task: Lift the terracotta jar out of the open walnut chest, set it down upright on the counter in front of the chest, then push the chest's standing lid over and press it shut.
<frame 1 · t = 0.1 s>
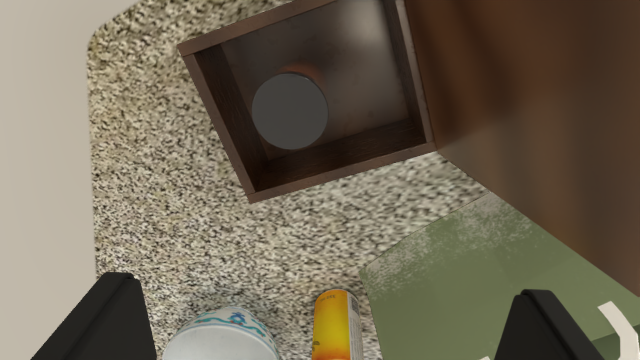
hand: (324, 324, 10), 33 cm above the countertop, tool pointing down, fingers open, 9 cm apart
chest lid: (491, 81, 20), point 19 cm above the countertop, hinge at 100.0°
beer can: (336, 301, 52), on the countertop
grocery bag: (490, 238, 47), on the countertop
chinaware: (235, 322, 54), on the countertop
jar: (299, 87, 39), point 1 cm above the countertop, touching chest
chest: (318, 79, 39), on the countertop
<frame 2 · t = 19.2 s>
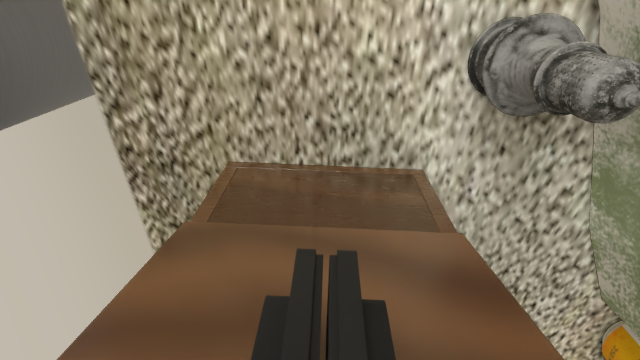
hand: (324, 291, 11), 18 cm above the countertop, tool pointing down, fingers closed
grey chess piece: (506, 59, 25), on the countertop
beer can: (628, 334, 36), on the countertop
chest: (321, 260, 33), on the countertop
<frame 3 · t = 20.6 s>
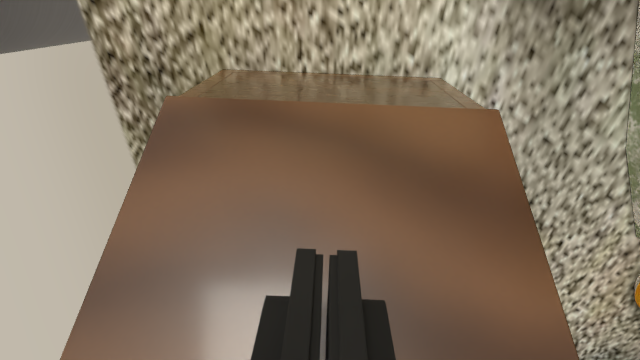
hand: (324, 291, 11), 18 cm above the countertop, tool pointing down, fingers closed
chest lid: (323, 320, 12), point 18 cm above the countertop, hinge at 60.0°
chest: (326, 190, 30), on the countertop
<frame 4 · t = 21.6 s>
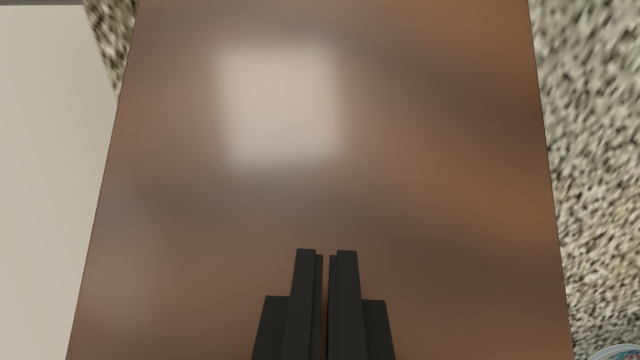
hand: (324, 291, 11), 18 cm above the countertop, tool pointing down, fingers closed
chest lid: (324, 234, 12), point 16 cm above the countertop, hinge at 40.8°, touching gripper
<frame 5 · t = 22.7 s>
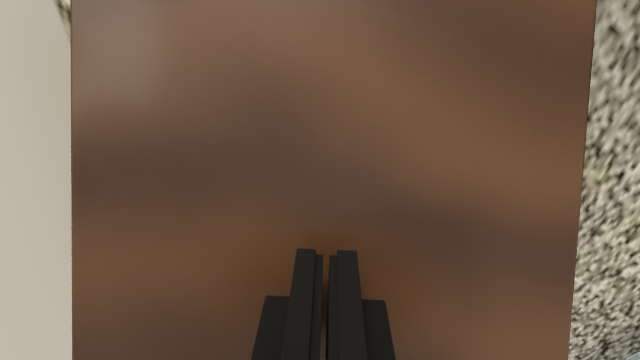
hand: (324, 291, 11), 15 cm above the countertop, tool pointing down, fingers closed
chest lid: (324, 202, 11), point 13 cm above the countertop, hinge at 21.7°, touching gripper
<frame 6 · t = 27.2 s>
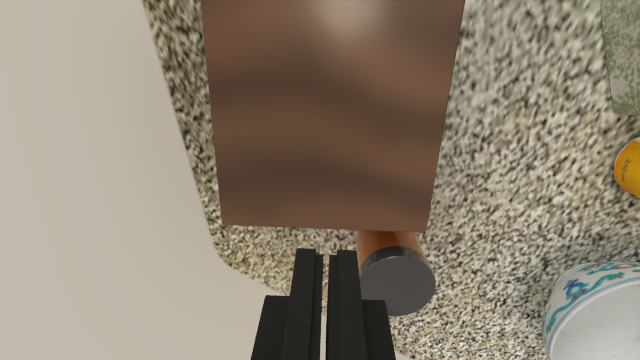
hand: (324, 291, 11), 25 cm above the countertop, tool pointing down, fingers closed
chest lid: (328, 100, 24), point 10 cm above the countertop, hinge at 0.6°
chinaware: (583, 285, 42), on the countertop
jar: (381, 221, 39), on the countertop
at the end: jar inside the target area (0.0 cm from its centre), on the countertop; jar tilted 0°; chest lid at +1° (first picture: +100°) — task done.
